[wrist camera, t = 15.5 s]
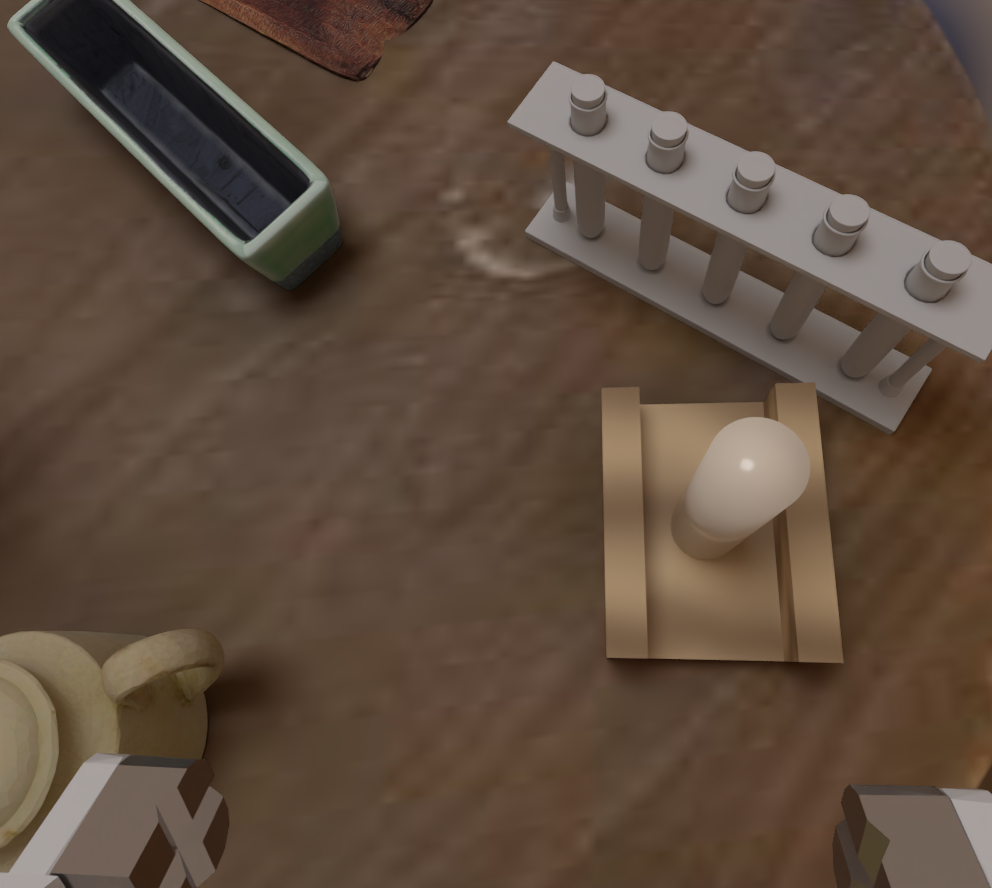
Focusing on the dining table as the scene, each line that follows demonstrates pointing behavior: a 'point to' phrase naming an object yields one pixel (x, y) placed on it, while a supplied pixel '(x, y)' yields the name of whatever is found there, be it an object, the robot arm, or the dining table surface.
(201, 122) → the planter
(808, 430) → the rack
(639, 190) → the test tube rack
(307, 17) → the wooden tablet
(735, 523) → the clay rod
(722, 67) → the dining table surface
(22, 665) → the sugar bowl
